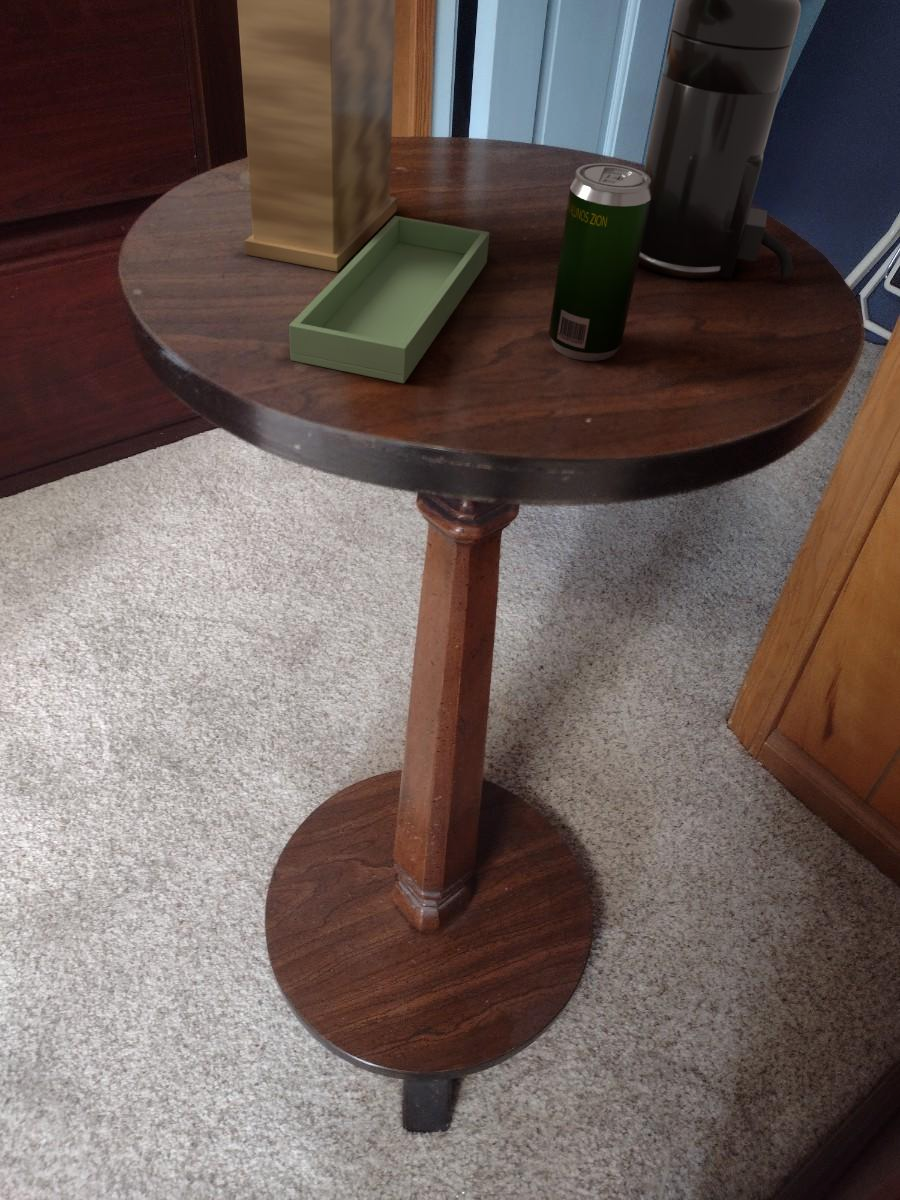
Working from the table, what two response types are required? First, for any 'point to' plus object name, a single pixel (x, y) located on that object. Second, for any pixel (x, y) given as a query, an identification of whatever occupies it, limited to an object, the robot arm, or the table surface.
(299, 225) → the stand
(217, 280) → the table surface
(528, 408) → the table surface
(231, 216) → the table surface
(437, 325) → the green rectangular tray
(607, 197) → the beer can
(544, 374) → the table surface
